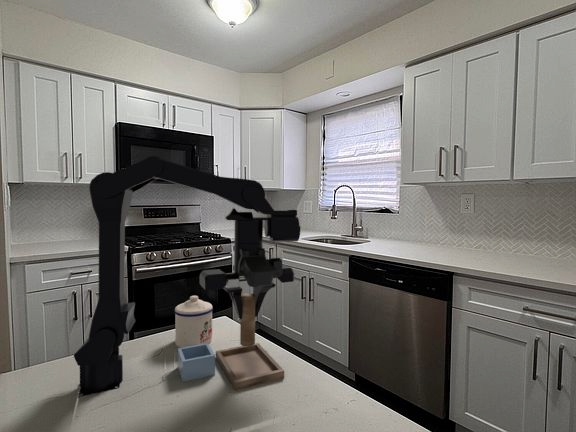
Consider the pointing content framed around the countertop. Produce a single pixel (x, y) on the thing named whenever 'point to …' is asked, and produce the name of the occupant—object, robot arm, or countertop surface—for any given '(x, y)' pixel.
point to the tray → (248, 366)
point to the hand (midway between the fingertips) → (247, 317)
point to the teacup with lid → (193, 323)
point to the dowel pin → (247, 320)
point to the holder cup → (196, 362)
